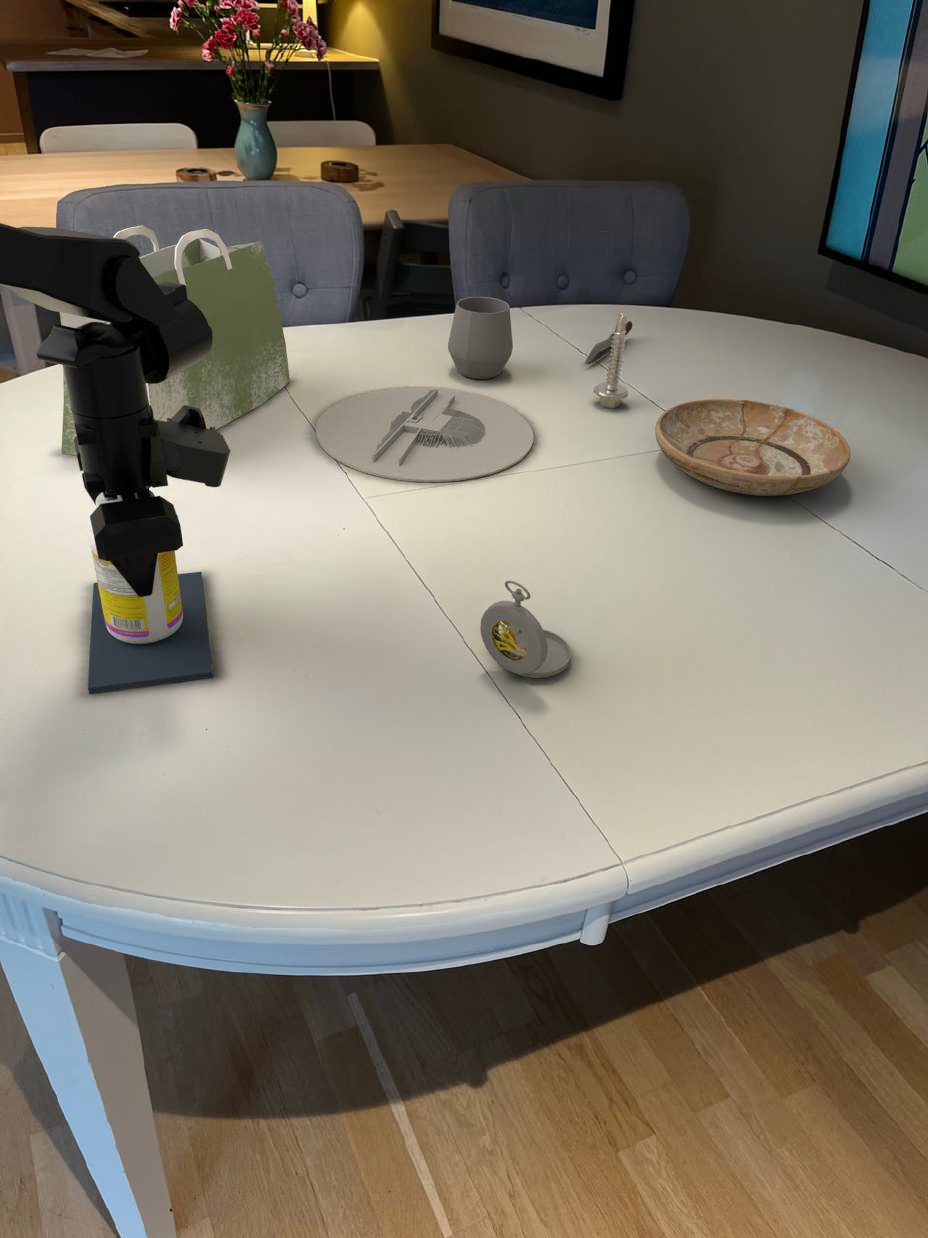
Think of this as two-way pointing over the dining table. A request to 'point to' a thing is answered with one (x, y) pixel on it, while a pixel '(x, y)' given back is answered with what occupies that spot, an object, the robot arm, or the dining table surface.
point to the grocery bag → (213, 330)
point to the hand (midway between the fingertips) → (139, 574)
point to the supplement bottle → (139, 598)
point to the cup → (481, 337)
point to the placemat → (152, 647)
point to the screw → (614, 368)
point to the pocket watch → (522, 639)
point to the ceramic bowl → (751, 446)
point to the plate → (424, 434)
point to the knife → (604, 346)
